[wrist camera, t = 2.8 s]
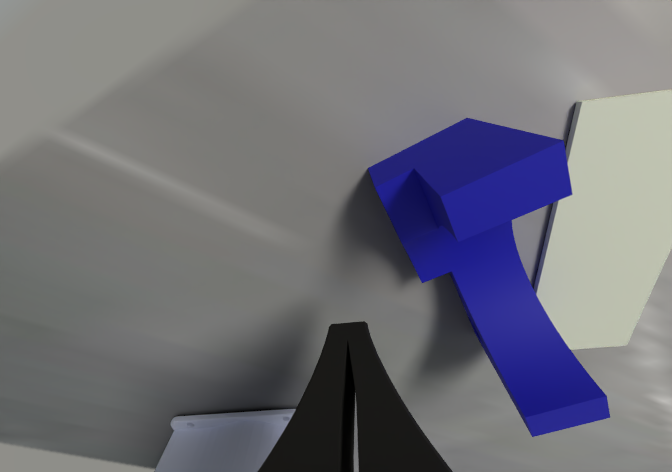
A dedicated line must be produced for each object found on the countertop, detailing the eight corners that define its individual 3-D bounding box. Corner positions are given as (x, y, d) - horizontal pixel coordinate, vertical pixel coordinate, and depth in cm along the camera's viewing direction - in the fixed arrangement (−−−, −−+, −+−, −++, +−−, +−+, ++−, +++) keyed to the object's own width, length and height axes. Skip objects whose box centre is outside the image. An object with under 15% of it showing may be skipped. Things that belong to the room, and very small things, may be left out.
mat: (519, 349, 18) (522, 353, 18) (576, 101, 12) (582, 101, 11) (622, 341, 18) (626, 345, 17) (738, 80, 11) (748, 80, 11)
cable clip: (367, 167, 13) (386, 221, 8) (465, 117, 12) (563, 140, 7) (449, 339, 18) (496, 445, 13) (524, 313, 17) (610, 417, 12)
